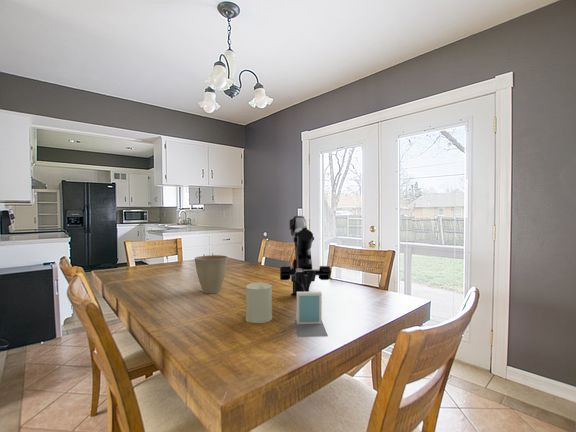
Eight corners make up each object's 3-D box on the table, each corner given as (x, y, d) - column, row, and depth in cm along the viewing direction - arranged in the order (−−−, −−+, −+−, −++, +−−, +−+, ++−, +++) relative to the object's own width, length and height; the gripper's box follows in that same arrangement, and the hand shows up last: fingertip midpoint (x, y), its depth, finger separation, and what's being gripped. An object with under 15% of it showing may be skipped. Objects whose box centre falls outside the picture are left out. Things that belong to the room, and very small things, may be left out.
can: (251, 326, 94) (250, 289, 93) (241, 317, 102) (241, 282, 102) (276, 321, 98) (276, 285, 98) (266, 312, 106) (266, 280, 106)
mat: (294, 321, 98) (294, 320, 98) (321, 320, 98) (321, 319, 98) (297, 338, 85) (297, 336, 85) (328, 337, 85) (328, 336, 85)
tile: (296, 321, 96) (296, 291, 96) (320, 321, 96) (320, 291, 96) (297, 324, 94) (297, 293, 94) (321, 324, 94) (321, 293, 94)
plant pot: (234, 290, 136) (234, 256, 136) (210, 298, 124) (210, 260, 124) (212, 285, 144) (212, 253, 144) (187, 293, 132) (187, 258, 132)
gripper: (325, 269, 119) (329, 304, 108) (279, 269, 119) (279, 304, 108) (328, 252, 111) (334, 288, 101) (280, 252, 111) (280, 289, 100)
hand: (306, 293), depth 102 cm, fingers closed
